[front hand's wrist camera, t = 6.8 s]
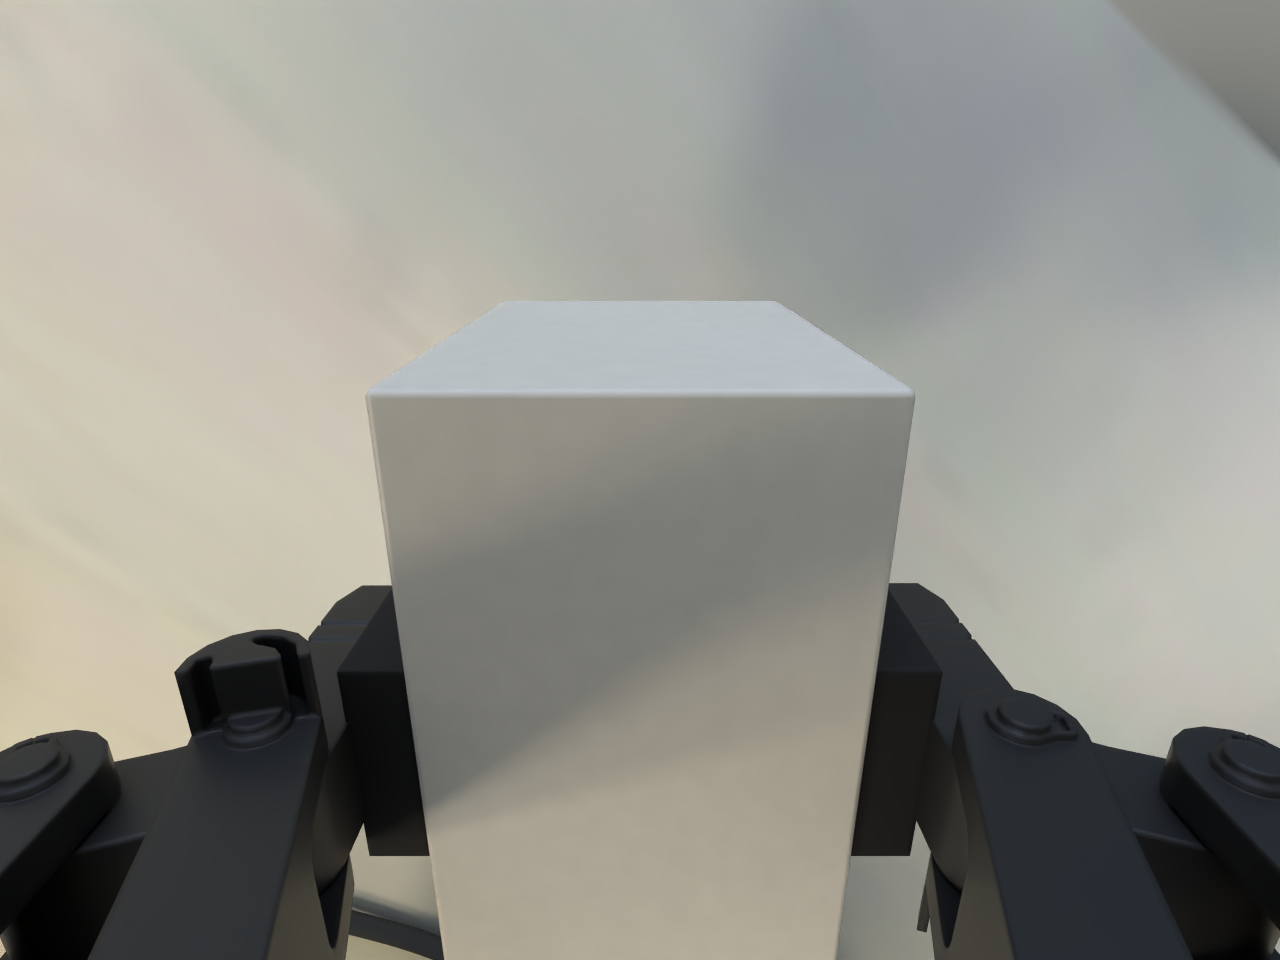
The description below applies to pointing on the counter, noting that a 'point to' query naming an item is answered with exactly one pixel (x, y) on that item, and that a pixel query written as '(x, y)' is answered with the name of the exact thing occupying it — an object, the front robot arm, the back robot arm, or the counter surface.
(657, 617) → the brick
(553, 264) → the counter surface
